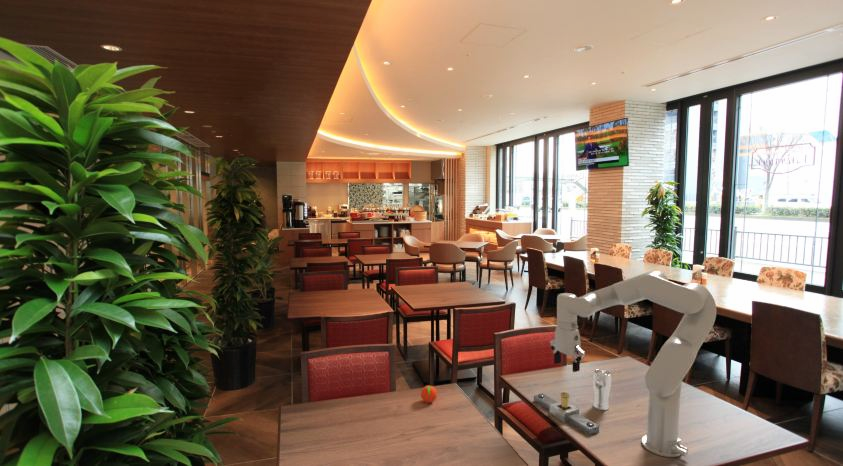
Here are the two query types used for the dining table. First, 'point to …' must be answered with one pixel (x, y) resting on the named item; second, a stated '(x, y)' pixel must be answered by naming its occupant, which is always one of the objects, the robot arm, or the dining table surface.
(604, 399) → the metal tumbler
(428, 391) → the red tomato
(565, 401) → the link pin
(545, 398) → the studded connector plate
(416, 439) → the dining table surface
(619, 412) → the dining table surface
